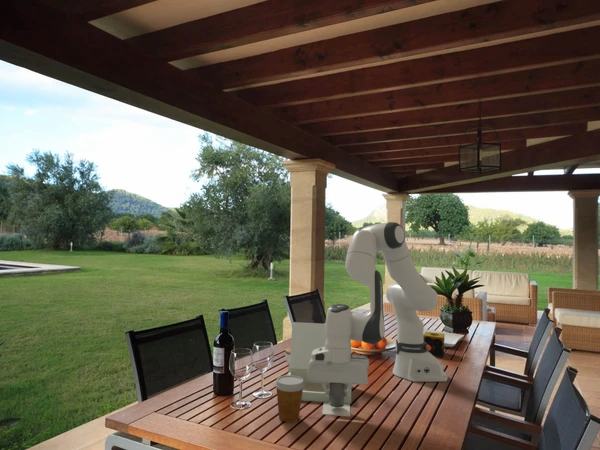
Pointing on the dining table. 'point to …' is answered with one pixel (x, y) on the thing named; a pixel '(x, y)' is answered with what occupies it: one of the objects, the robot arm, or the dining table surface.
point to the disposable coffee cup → (289, 397)
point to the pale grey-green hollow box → (308, 358)
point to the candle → (435, 343)
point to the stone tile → (336, 410)
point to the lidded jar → (288, 355)
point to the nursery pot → (336, 394)
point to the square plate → (448, 338)
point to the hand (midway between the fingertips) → (336, 395)
